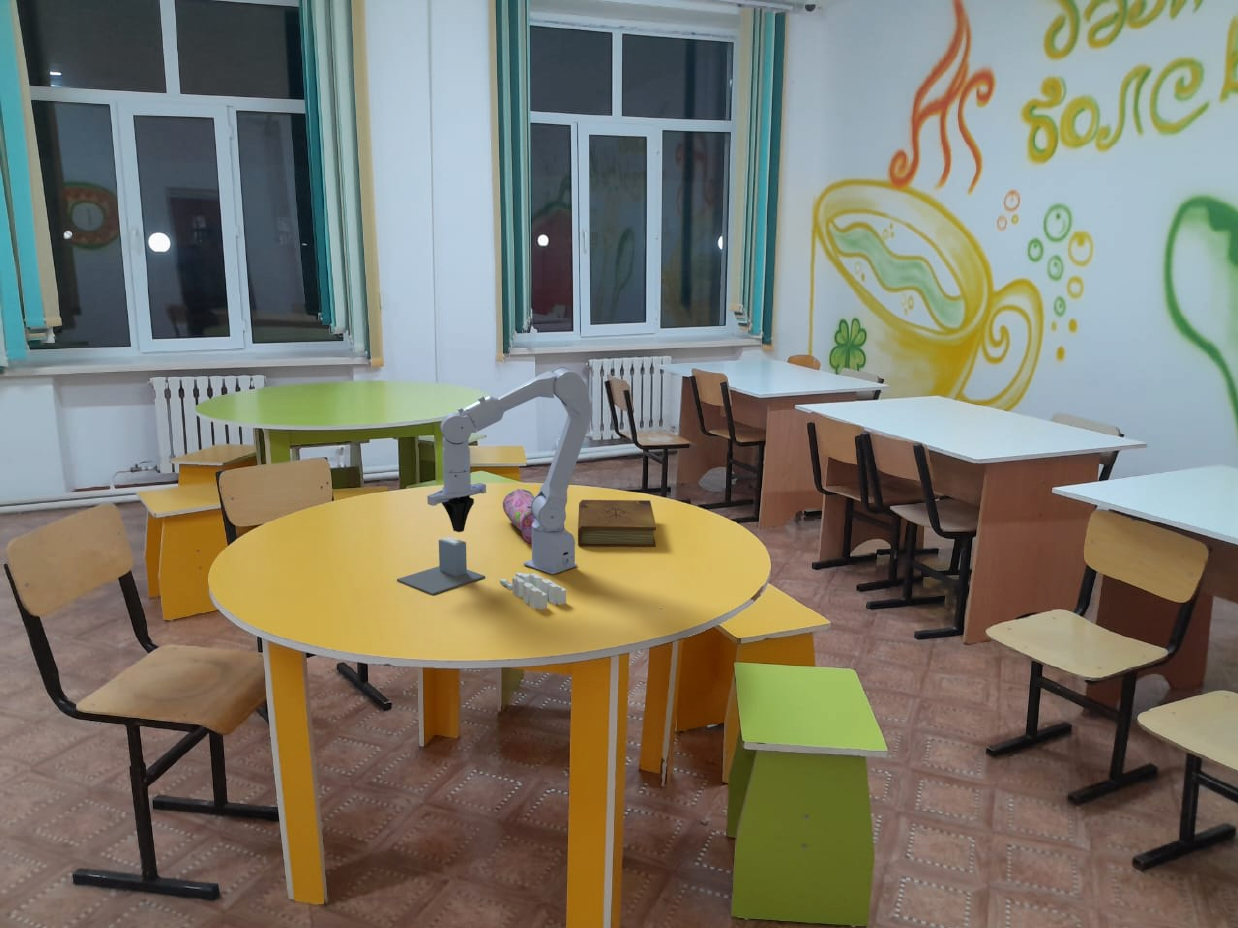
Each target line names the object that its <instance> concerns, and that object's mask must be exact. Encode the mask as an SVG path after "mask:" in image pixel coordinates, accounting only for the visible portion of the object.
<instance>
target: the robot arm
mask: <svg viewBox="0 0 1238 928" xmlns="http://www.w3.org/2000/svg"><path fill="white" fill-rule="evenodd" d="M555 396H556V398H558V399H559V400H560V402H561V405H562V406H563V407H564V409H565V411H566V414H567V416H566V418H565V423H564V425H563V429H562V432H561V435H560V437H559V440H558V443H557V445H556V450H555V453H554V456H553V458H552V461H551V464H550V467H549V469H548V473H547V476H546V479H545V481H544V482H543V483H542V485H541V486H540V489H539V491H538V492H537V494H536V495H535V496H534V498H533V500H532V502H531V512H532V514H533V515H534V516H535V520H534V522H533V523H532V544H531V559H530V560H527V561H524V562H523V565H524V566H527V567H529V568H533V569H535V570H539V571H542V572H544V573H547V574H550V575H555V574H558V573H561V572H564V571H567V570H569V569H572V568H576V567H577V566H578V563H576V561H575V559H576V540H575V537H574V535H573V534H572V533H571V532H569V531H568V530H567V529H566V528H565V521H566V519H567V518H566V517H567V513H566V506H567V504H568V488H569V485H570V481H571V479H572V476H573V474H574V470H575V468H576V464H577V461H578V459H579V456H580V454H581V453H580V452H581V450H582V446H583V444H584V440H585V438H586V435H587V432H588V429H589V426H590V422H591V420H592V418H593V408H592V404H591V399H590V396H589V387H588V384H586V382H585V381H584V379H583V378H582V376H581V375H579V374H578V373H577V372H574V371H572V370H571V369H570V368H568V367H566V366H558V367H555V368H554V369H552V370H550V371H549V370H548V371H545V372H542V373H541V374H539V375H537V376H535V377H533V378H532V379H530V380H528V381H526V382H524V383H523V384H520V385H519V386H517V387H515V388H513V389H511V390H509V391H508V392H506V393H504V394H502V395H501V396H499V397H494V396H491V395H487V396H486V397H484V396H483V395H481V396H479V397H477V400H478V401H476V402H474V403H471V404H469V405H468V406H466V407H462V406H460V407H459V408H457V412H450V413H447V414H446V415H444V416H443V418H442V419H441V422H440V424H439V429H440V432H441V433H442V435H443V436H442V446H443V447H442V475H443V477H442V478H443V486H442V489H441V490H438V491H435V492H434V493H431V494H428V495H427V496H426V498H427V500H426V501H427V505H430V506H432V507H433V506H437V505H439V504H442V506H443V507H444V510H445V511H446V513H447V515H448V517H449V520H450V523H451V526H452V530H453V531H454V532H457V533H462V532H464V531H465V527H466V523H467V519H468V517H469V516H468V515H469V514H470V511H471V509H472V507H473V505H474V503H475V499H474V498H473V497H471V496H475V495H478V494H479V495H480V494H486V493H487V483H481V482H479V483H478V482H477V483H471V482H472V481H471V476H472V475H471V448H470V447H469V440H470V437H471V435H472V434H474V433H475V434H476V433H477V432H480V431H482V430H484V429H486V428H488V427H490V426H492V425H494V424H496V423H499V422H500V421H502V419H503V417H504V413H505V412H508V411H509V410H512V409H514V408H516V407H518V406H521V405H523V404H524V403H525V404H526V403H527V402H529V401H531V400H534V399H536V398H548V399H555Z"/></svg>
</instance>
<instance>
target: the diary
mask: <svg viewBox="0 0 1238 928" xmlns="http://www.w3.org/2000/svg"><path fill="white" fill-rule="evenodd" d="M652 506H653V505H652V503H651V500H650V499H649V500H648V499H647V500H643V499H642V500H641V499H640V500H639V499H636V500H635V499H634V500H633V499H623V500H621V499H620V500H619V499H582V500H581V501H580V502H578V517H577V518H578V520H577V521H578V523H577V546H578V547H586V548H587V547H588V548H589V547H590V548H592V547H597V548H599V547H600V548H601V547H603V548H605V547H606V548H608V547H609V548H612V547H613V548H615V547H616V548H620V547H621V548H656V546H657V545H656V541H655V540H656V539H655V535H654V531H657V524H656V519H655V516H654V511H653V507H652Z"/></svg>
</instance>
